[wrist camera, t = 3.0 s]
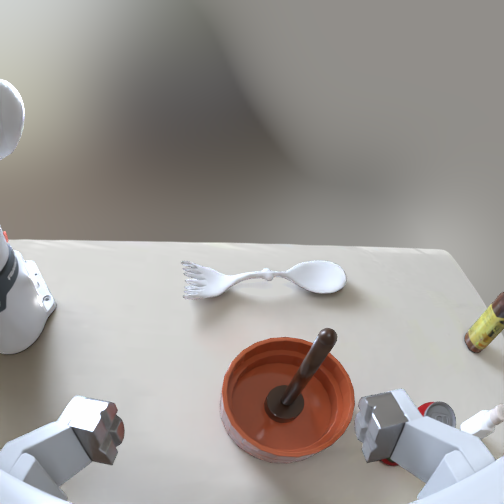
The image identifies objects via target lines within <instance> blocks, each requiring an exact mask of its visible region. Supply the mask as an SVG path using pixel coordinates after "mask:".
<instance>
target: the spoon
mask: <svg viewBox="0 0 504 504" xmlns="http://www.w3.org/2000/svg"><path fill="white" fill-rule="evenodd" d="M181 264H182V265H185V266H188V267H191V268H183V270H185V271H188V272H191V273H184V275H186V276H188V277H191V278H194V279H197V280H185V282H186V283H189V284H191V285H194V286H185V288H186V289H189V290H187V291H184V292H185V293H187V294H191V295H183V298H185V299H200V298H209V297H215V296H218V295H220V294H222V293H224V292H225V291H226V290H228V289H229V288H230V287H232V286H233V285H235V284H237V283H239V282H241V281H244V280H247V279H255V278H262V279H265V280H267V281H272V280H273V277H281V278H285V279H287V280H290V281H291V282H293V283H295V284H296V285H298V286H300V287H301V288H303V289H306V290H308V291H311V292H314V293H332V292H336V291H338V290H340V289H341V288H343V287H344V286H345V284H346V281H347V277H346V274H345V271H344V270H343V269H342V268H341V267H340V266H339V265H337V264H335V263H332V262H329V261H321V260H317V261H309V262H303V263H300V264H298V265H296V266H294V267H293V268H291V269H290V270H288V271H285V272H280V271H271V270H270V269H268V268H264V269H263V270H262V271H258V272H249V273H244V274H239V275H235V276H226V275H223V274H221V273H219V272H217V271H216V270H214V269H211V268H207V267H203V266H200V265H197V264H195V263H192V262H189V261H182V262H181ZM193 273H194V274H193ZM195 286H198V287H195Z"/></svg>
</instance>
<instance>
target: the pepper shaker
mask: <svg viewBox="0 0 504 504" xmlns="http://www.w3.org/2000/svg"><path fill="white" fill-rule="evenodd" d="M503 421H504V405H503V404H499V405H497V406H496V407H495V408H493V409H492V410H491V411H488V410H482V411H480V412H479V413H477V414H476V415H474V416H473V417H471V418H470V419H468V420H466V421H465V422H463V423H462V424H461V427H460V430H461V431H464V432H466V433H469V434H471V435H474V436H476V437H479V438H480V439H482V438H484V437H486V436H488V435H489V434H491V433H493V432H494V430H495V425H498V424H500V423H501V422H503Z"/></svg>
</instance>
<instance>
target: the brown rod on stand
mask: <svg viewBox="0 0 504 504" xmlns="http://www.w3.org/2000/svg"><path fill="white" fill-rule="evenodd" d="M336 341H337V334H336V332H335V331H334V330H333V329H330V328H325V329H323V330H321V331H320V333H319V334H318V336H317V338H316V340H315V341H314V343H313V345H312V347H311V348H310V350H309V352H308V354H307V355H306V357H305V359H304V360H303V362H302V364H301V365H300V367H299V369H298V370H297V372H296V374H295V375H294V377H293V379H292V380H291V382H290V384H289V385H280V386H277V387H275V388H273V389H272V390H271V391H270V392H269V394H268V396H267V397H266V399H265V402H264V409H265V412H266V414H267V415H268V416H269V417H270V418H271V419H272V420H274V421H276V422H280V423H287V422H290V421H293V420H294V419H295V418H296V417H297V416H298V415H299V414H300V413H301V412H302V410H303V408H304V398H303V396H302V394H301V392H302V390H303V389H304V388H305V386H306V385H307V384H308V382H309V381H310V380H311V378H312V377H313V375H314V374H315V373H316V371H317V370H318V368H319V367H320V365H321V364H322V363H323V361H324V360H325V358H326V357H327V355H328V354H329V352H330V351H331V349H332V348H333V346H334V345H335V343H336Z"/></svg>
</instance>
